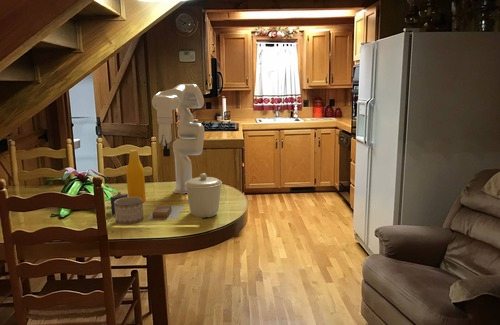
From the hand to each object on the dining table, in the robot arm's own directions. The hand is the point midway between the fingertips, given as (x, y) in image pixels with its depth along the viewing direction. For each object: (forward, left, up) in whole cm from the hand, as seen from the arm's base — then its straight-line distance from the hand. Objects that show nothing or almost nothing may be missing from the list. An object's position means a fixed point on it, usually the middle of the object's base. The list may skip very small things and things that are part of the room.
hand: (166, 156), depth 208 cm
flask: (+9, -23, -27) cm, 37 cm away
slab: (+12, 0, -24) cm, 27 cm away
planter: (+23, -14, -27) cm, 38 cm away
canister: (+14, +20, -27) cm, 37 cm away
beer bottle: (-7, -19, -27) cm, 34 cm away
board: (+12, +1, -27) cm, 30 cm away
